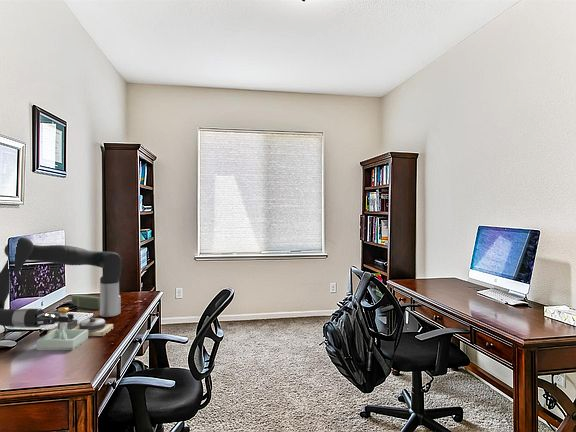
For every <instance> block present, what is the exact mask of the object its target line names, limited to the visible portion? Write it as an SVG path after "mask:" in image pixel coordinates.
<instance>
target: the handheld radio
mask: <svg viewBox="0 0 576 432" xmlns="http://www.w3.org/2000/svg"><path fill="white" fill-rule="evenodd" d="M72 303H73V304H75V305H76V306H77V307H76V308H84V309H85V308H86V309H94V310H100V296H93V295H83V294H72V295H71V304H72Z"/></svg>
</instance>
